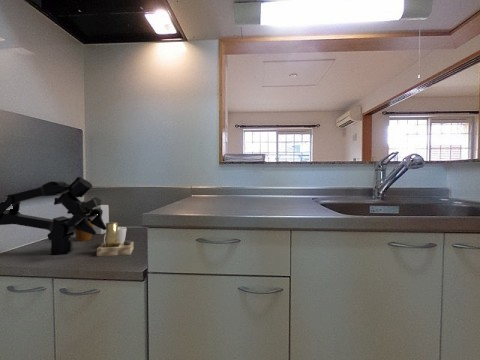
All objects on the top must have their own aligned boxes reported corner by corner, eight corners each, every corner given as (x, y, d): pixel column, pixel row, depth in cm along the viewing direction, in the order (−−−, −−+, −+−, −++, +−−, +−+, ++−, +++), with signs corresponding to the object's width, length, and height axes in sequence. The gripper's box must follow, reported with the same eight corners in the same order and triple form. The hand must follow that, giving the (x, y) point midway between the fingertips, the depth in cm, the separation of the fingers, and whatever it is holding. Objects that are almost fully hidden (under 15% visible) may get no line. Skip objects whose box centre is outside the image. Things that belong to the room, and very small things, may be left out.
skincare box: (109, 232, 148) (109, 204, 148) (100, 234, 141) (100, 206, 141) (96, 231, 150) (97, 204, 149) (87, 233, 143) (87, 205, 143)
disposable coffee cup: (67, 241, 126) (68, 216, 126) (82, 236, 136) (82, 213, 136) (85, 242, 125) (85, 217, 125) (99, 237, 134) (99, 214, 134)
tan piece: (107, 254, 107) (107, 224, 106) (104, 252, 110) (105, 222, 110) (118, 252, 109) (118, 223, 109) (116, 250, 113) (116, 221, 113)
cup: (129, 245, 120) (129, 228, 120) (106, 250, 113) (106, 231, 113) (123, 243, 125) (123, 226, 125) (101, 246, 118) (101, 229, 118)
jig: (96, 256, 104) (96, 245, 104) (102, 249, 113) (102, 239, 113) (130, 254, 107) (130, 243, 107) (133, 248, 116) (133, 238, 116)
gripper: (75, 192, 99) (104, 222, 100) (98, 190, 118) (123, 214, 119) (53, 213, 99) (83, 242, 100) (80, 207, 118) (105, 232, 118)
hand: (100, 231), depth 109 cm, fingers open, 9 cm apart
